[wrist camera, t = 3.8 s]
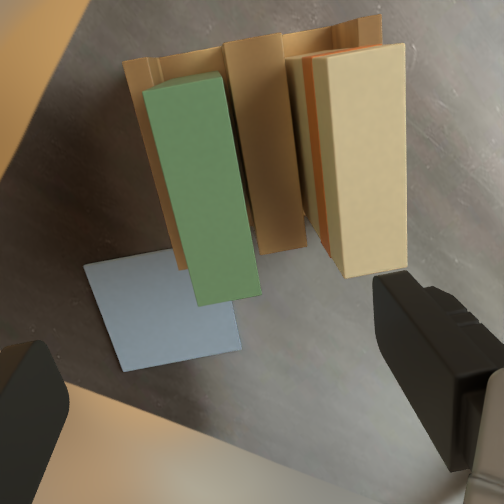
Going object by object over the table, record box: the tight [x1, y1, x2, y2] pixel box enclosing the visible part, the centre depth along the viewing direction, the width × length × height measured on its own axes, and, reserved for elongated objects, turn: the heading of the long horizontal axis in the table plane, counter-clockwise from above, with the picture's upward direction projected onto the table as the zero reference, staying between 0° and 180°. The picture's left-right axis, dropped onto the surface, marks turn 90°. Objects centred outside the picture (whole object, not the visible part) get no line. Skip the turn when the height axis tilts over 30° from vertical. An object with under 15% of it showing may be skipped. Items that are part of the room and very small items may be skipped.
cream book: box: [285, 43, 407, 279], centre depth 27 cm, size 4×11×14 cm, turn 9°
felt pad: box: [83, 248, 242, 372], centre depth 39 cm, size 12×12×1 cm
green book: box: [142, 70, 262, 307], centre depth 27 cm, size 4×11×14 cm, turn 9°
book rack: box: [122, 14, 382, 271], centre depth 31 cm, size 16×14×7 cm
